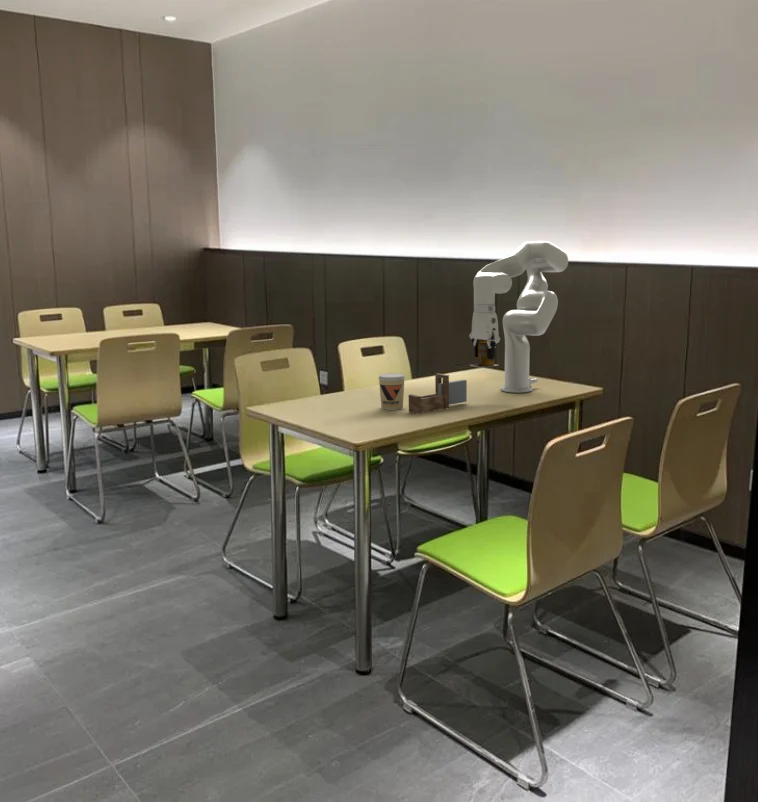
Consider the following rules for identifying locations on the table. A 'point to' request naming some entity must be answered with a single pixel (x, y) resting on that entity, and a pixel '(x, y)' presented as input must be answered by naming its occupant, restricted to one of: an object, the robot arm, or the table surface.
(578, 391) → the table surface
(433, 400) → the brown l-shaped block
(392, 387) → the coffee cup
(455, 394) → the gate
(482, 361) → the condiment
